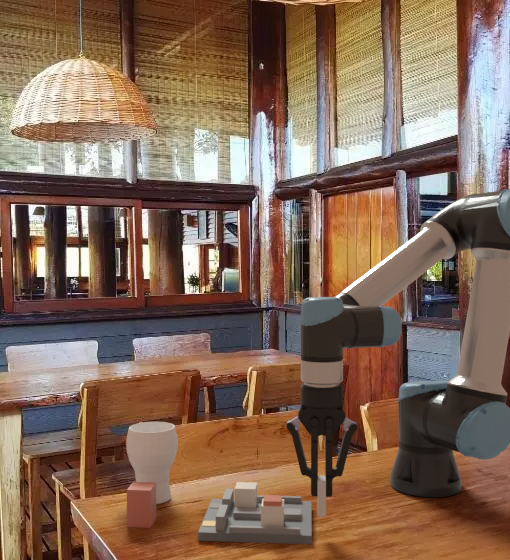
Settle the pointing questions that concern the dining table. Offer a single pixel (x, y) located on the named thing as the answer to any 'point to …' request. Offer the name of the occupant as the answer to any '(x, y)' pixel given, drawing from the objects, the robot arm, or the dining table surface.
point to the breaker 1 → (246, 494)
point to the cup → (153, 454)
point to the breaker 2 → (272, 511)
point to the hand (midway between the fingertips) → (321, 513)
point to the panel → (255, 522)
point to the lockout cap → (141, 504)
